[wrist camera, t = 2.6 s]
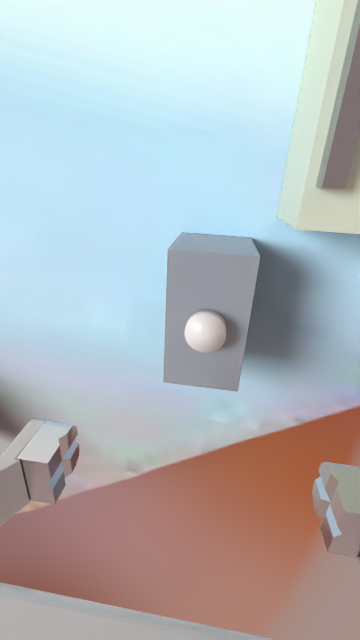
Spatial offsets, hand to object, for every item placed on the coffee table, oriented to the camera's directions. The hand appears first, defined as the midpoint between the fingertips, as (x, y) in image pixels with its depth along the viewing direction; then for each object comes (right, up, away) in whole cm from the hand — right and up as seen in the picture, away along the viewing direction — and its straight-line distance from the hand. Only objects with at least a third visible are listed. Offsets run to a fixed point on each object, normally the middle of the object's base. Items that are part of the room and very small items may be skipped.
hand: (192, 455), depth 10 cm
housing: (+2, +7, +13) cm, 15 cm away
